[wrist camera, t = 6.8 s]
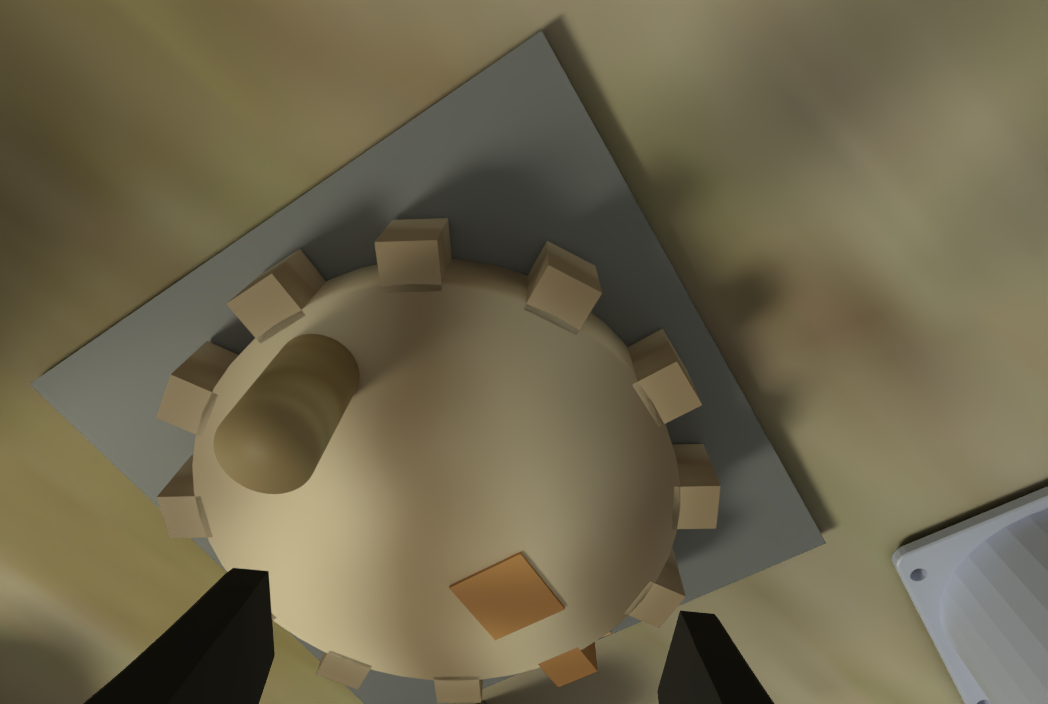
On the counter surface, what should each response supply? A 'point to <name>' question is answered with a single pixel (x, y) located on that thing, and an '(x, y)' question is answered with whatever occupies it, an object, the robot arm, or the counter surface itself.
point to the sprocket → (441, 463)
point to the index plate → (475, 235)
